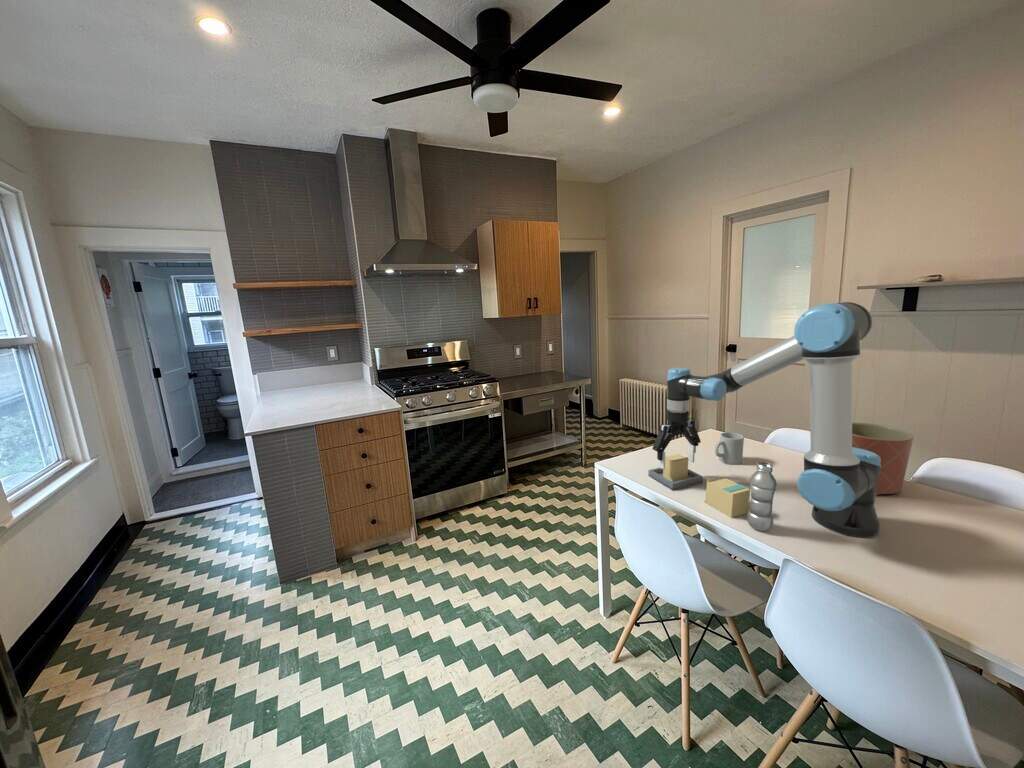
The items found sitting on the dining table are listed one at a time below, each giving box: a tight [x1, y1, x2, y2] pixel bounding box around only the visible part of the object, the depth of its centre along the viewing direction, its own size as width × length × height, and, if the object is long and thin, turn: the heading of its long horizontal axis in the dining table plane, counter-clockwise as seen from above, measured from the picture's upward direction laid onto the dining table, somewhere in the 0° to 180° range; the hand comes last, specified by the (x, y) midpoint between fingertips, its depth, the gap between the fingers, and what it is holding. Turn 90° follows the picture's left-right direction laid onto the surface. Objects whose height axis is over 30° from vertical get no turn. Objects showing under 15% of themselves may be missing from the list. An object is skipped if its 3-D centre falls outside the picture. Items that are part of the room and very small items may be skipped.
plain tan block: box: [663, 453, 689, 482], centre depth 146 cm, size 5×7×8 cm
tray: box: [647, 467, 704, 491], centre depth 147 cm, size 13×14×2 cm
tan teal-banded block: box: [703, 476, 751, 519], centre depth 125 cm, size 11×7×8 cm, turn 20°
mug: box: [714, 432, 745, 466], centre depth 159 cm, size 12×8×11 cm
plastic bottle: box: [746, 461, 778, 532], centre depth 112 cm, size 6×7×20 cm
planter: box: [852, 422, 914, 496], centre depth 134 cm, size 19×19×20 cm
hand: (676, 464), depth 145 cm, fingers open, 13 cm apart
